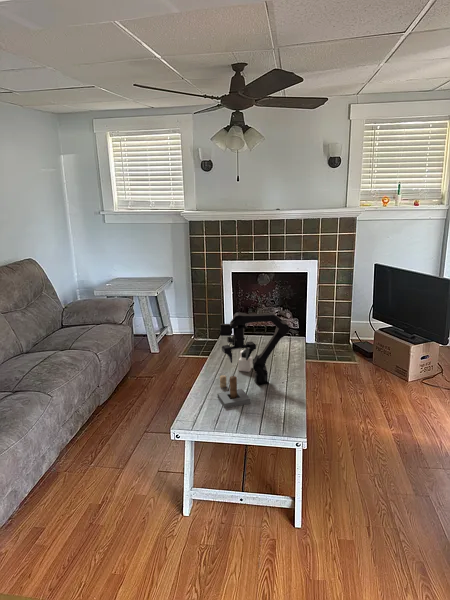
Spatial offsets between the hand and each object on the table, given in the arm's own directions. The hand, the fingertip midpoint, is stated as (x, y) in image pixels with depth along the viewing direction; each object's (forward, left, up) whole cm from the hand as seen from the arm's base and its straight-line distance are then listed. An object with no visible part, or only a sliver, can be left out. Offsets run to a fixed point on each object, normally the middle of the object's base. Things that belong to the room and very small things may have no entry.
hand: (239, 361), depth 238 cm
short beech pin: (+10, +1, -13) cm, 16 cm away
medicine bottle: (-10, -16, -13) cm, 23 cm away
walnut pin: (+10, +18, -13) cm, 24 cm away
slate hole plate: (+10, +18, -13) cm, 24 cm away
